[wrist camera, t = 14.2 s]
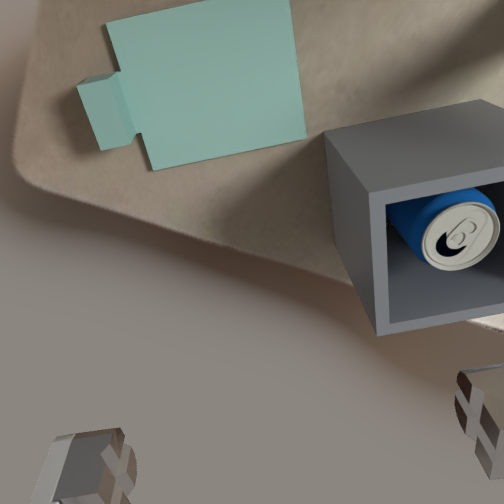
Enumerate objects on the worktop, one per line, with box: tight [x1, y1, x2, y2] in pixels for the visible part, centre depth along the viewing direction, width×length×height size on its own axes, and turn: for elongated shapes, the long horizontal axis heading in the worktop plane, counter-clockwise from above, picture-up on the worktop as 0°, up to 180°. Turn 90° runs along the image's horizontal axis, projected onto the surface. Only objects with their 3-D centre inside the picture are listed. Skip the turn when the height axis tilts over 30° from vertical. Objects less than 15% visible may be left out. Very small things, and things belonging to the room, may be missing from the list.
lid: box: [76, 0, 307, 171], centre depth 35 cm, size 12×17×4 cm
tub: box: [323, 99, 504, 336], centre depth 36 cm, size 12×14×14 cm
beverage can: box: [385, 187, 500, 271], centre depth 37 cm, size 6×6×12 cm
